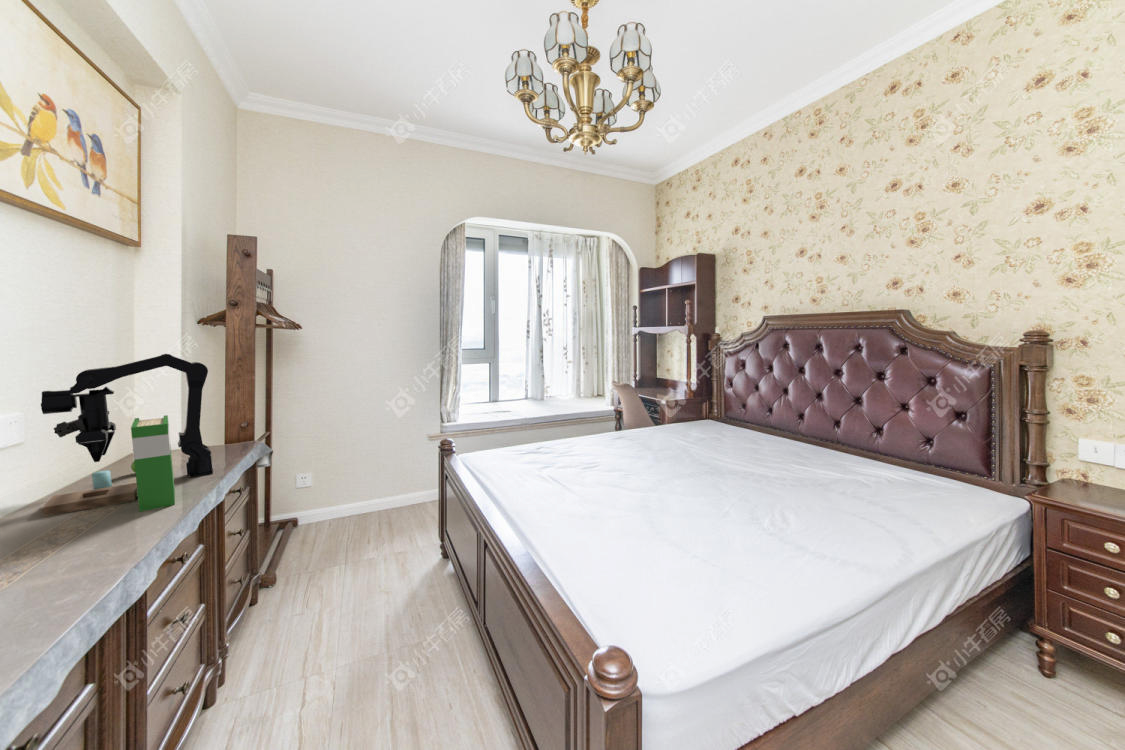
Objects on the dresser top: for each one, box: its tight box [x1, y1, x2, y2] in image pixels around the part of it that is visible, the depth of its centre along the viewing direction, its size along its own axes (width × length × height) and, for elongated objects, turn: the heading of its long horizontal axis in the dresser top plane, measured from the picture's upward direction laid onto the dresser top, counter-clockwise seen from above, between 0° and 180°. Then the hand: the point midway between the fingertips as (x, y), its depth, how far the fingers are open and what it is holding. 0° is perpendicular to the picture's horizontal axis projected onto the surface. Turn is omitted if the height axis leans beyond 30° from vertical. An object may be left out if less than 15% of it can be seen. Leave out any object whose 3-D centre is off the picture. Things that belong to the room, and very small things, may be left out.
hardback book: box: [130, 414, 176, 513], centre depth 129 cm, size 18×7×24 cm, turn 42°
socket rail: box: [41, 482, 138, 517], centre depth 128 cm, size 18×11×2 cm, turn 129°
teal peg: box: [91, 470, 113, 490], centre depth 137 cm, size 4×4×6 cm
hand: (99, 458), depth 136 cm, fingers open, 9 cm apart
